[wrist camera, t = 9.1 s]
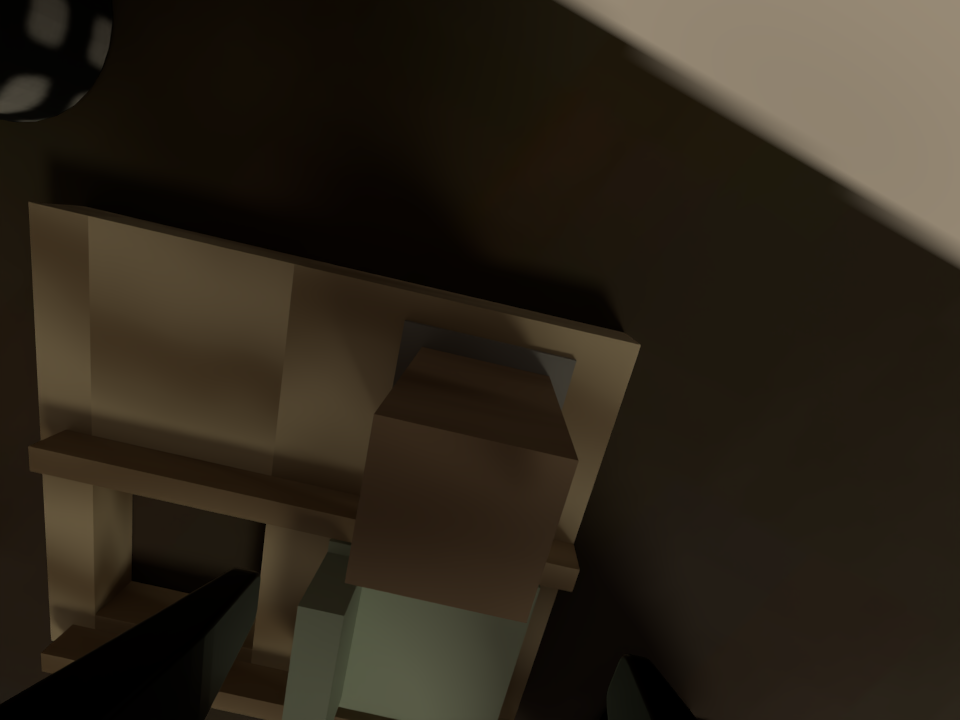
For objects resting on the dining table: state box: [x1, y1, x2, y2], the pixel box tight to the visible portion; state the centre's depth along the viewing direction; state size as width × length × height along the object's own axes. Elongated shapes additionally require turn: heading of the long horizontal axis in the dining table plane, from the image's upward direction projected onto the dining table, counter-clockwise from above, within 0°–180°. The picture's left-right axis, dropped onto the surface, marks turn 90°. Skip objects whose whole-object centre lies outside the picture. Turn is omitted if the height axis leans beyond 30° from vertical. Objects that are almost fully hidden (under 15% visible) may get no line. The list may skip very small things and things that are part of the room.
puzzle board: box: [28, 202, 641, 720], centre depth 18 cm, size 19×21×3 cm
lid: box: [282, 538, 540, 720], centre depth 17 cm, size 8×8×4 cm
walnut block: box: [345, 347, 579, 623], centre depth 13 cm, size 4×4×6 cm
